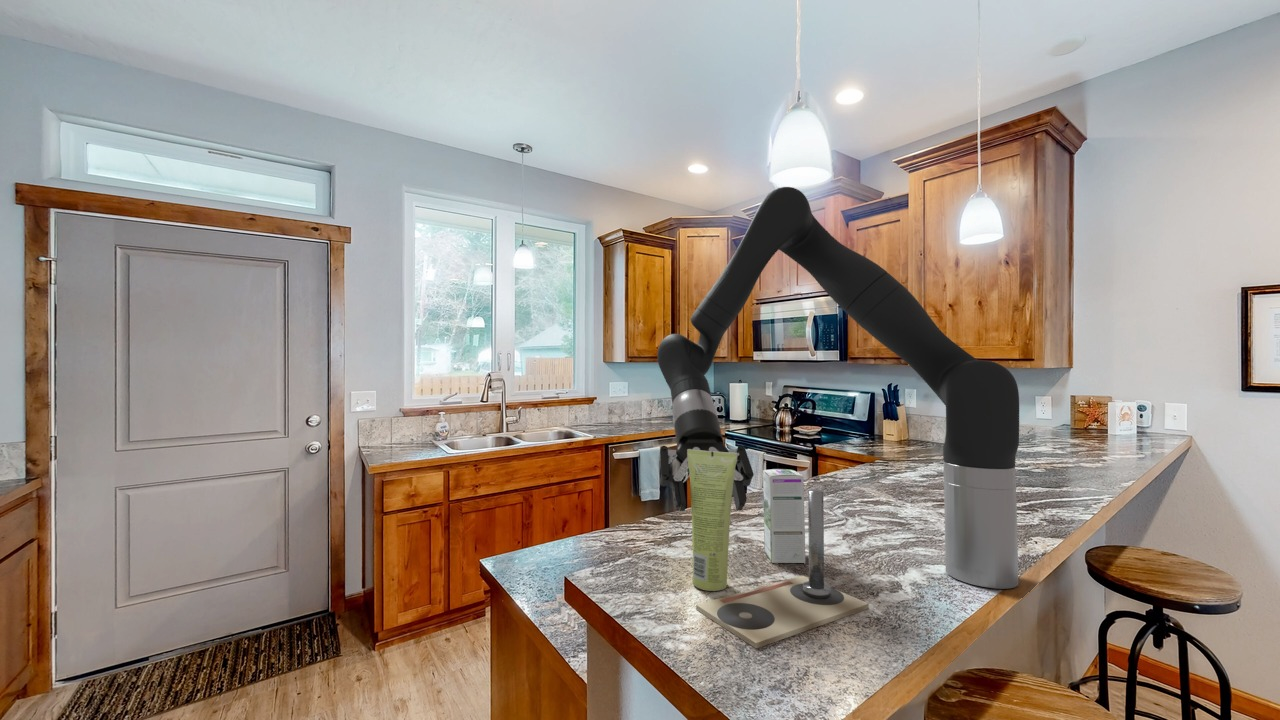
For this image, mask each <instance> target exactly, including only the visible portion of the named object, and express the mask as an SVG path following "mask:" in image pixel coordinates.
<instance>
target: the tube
mask: <svg viewBox="0 0 1280 720" xmlns="http://www.w3.org/2000/svg"><path fill="white" fill-rule="evenodd" d="M687 456H688V464H689V474H690V475H689V487H690V505H691V526H692V527H691V534H692V535H691V537H692V539H691V540H692V584H693V585H694V586H695V587H696V588H698V589H700V590H702V591H707V592H708V591H709V592H718V591H723V590H725V589H726V588H727V586H728V585H727V584H728V565H729V563H728V561H729V546H730V530H731V529H730V527H731V515H732V514H731V511H732V501H733V493H732V491H733V482H734V473H735V470H736V467H737V464H736V461H737V453H728V452H714V451H702V450H691V449H687Z"/></svg>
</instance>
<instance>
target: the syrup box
mask: <svg viewBox="0 0 1280 720" xmlns="http://www.w3.org/2000/svg"><path fill="white" fill-rule="evenodd" d="M762 475H763V478H762V479H763V481H762V482H763V485H762V487H763V488H762V489H763V491H762V493H763V534H764V535H763V540H764V541H763V545H764V547H763V548H764V553H765V554H766V556H767V558H768V559H769V561H770V562H771V564H778V563H804V564H803V565H805V564H806V532H805V531H806V527H805V526H806V524H805V520H806V519H805V496H804V495H805V491H804V490H805V488H804V486H805V485H804V484H805V483H804V475H802V474H801V473H799V472H798V471H796V470H794V469H787V468H772V469H763V472H762Z"/></svg>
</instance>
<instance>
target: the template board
mask: <svg viewBox="0 0 1280 720" xmlns="http://www.w3.org/2000/svg"><path fill="white" fill-rule="evenodd" d="M807 581H809V576H804V575H798V576H796V577H792V578H789V579H785V580H780V581H778V582H774V583H770V584H766V585H764V586H759V587H755V588H752V589H749V590H745V591H741V592H738V593H734V594H731V595H726V596H723V597H719V598H716V599H712V600H708V601H704V602H701V603H697V604H695V609H696V611H698V612H700V613H701V614H703V615H704V616H705V617H707V618H708V619H710V620H712V621H713V622H715V623H716V624H718V625H719V626H721V627H722V628H724V629H726V630H727V631H729V632H730V633H732V634H733V635H734V636H736V637H737V638H739V639H740V640H742V641H744V642H745V643H747V644H749V646H751V647H753V648H754V649H758V648H762V647H764V646H767V645H770V644H773V643H776V642H778V641H779V642H780V641H781V640H783V639H787V638H789V637H792V636H796V635H798V634H801V633H804V632H806V631H810V630H812V629H815V628H817V627H820V626H823V625H826V624H829V623H831V622H834V621H837V620H840V619H843V618H846V617H849V616H851V615H853V614H857V613H859V612H862V611H864V610H865V611H866V610H868V609H869V608H870V606H869V602H866V601H863V600H861V599H859V598H856V597H854V596H852V595H849V594H847V593H845V592H843V591H840V590H837V589H835V588H834V587H832V586H830V588H831V596H830V598H828V599H814V598H810V597H808V596H806V595H805V594H804V593H803V583H804V582H807Z"/></svg>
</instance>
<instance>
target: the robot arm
mask: <svg viewBox="0 0 1280 720" xmlns="http://www.w3.org/2000/svg"><path fill="white" fill-rule="evenodd" d="M778 251H780V252H782V253H783V254H785V255H786V256H788V257H789V258H790V259H792V260H793V261H794V262H795V263H797V264H798V265H799V266H801V267H802V268H803V269H804V270H806V271H807V272H808V273H809V274H810V275H811V276H812V277H813V278H814V279H815V282H817V284H818V285H820V287H821V288H822V290H824V291H825V292H826V294H827V295H828V296H829V297H830V298H831V299H832V300H833V301H834V302H835V303H836V304H837V305H838V306H839V307H840V308H841V310H843V311H844V312H845V314H847V315H848V316H849V318H851V319H852V320H853V321H855V323H857V324H858V326H860V327H861V328H862V329H864V330H865V331H866V332H867V333H869V334H870V336H872V337H873V338H874V339H875V340H877V341H878V342H879V343H880V344H882V345H883V346H884V347H886V348H887V349H888V350H889V351H891V352H892V353H893V354H895V355H896V356H898V357H899V358H901V360H903V361H904V362H905V363H907V365H909V366H910V367H911V368H912V369H913V370H914V371H915V373H916V374H918V376H919V377H920V379H922V380H923V381H924V383H926V384H927V385H928V387H929V388H930V389H931V390H932V391H933V392H934V394H935V395H936V396H937V397H938V398H939V399H940V400H941V402H942V403H943V405H945V438H944V443H943V449H942V452H943V453H942V454H943V455H942V457H943V460H942V461H943V495H944V496H943V497H944V498H943V499H944V500H943V501H944V502H943V503H944V504H943V505H944V549H945V550H944V551H945V552H944V556H945V559H944V560H945V563H944V564H945V572H946V574H947V575H949V576H950V577H951V578H954V579H956V580H959V581H961V582H964V583H966V584H969V585H970V584H971V585H974V586H978V587H984V588H990V589H999V590H1001V589H1002V590H1005V589H1013V588H1016V587H1018V586H1019V550H1018V549H1019V548H1018V514H1017V513H1018V510H1017V480H1016V479H1017V477H1016V474H1017V473H1016V456H1017V452H1018V449H1019V445H1020V443H1019V442H1020V393H1019V386H1018V383H1017V380H1016V378H1015V376H1014V375H1013V374H1012V373H1011V372H1010V370H1008V368H1007V367H1005V366H1004V365H1001V364H1000V363H999V362H998V363H997V362H995V361H991V360H988V359H987V360H985V359H984V360H983V359H977V358H975V357H974V356H973V355H972V354H970V353H968V352H967V351H966V350H965V349H963V348H962V347H960V345H958V344H957V343H955V342H954V341H953V340H952V339H951V338H950V337H948V336H947V335H946V334H945V333H944V332H943V331H942V330H941V329H940V327H938V325H936V323H935V322H934V321H933V319H932V318H931V316H930V315H929V314H928V312H927V311H926V310H925V308H924V307H923V306H922V305H921V303H920V302H919V301H918V300H917V298H916V297H915V296H914V295H913V294H912V293H911V292H910V291H909V290H908V289H907V288H906V287H905V285H902V283H901V282H899V280H898V279H896V278H895V277H894V276H893V275H892V274H890V273H888V271H887V270H886V269H884V268H883V267H881V266H880V265H879V264H877V263H876V262H874V261H873V260H871V259H869V258H867V257H866V256H864V255H862V254H860V253H858V252H857V251H854V250H853V249H851V248H849V247H847V246H845V245H844V244H843V243H841V242H839V241H838V240H837V239H836V238H835V237H834V236H833V235H831V233H829V232H828V230H827V229H826V228H824V226H823V225H822V224H821V223H820V222H819V221H818V220H817V218H816V217H815V216H814V214H813V213H812V210H811V206H810V203H809V200H808V198H807V196H806V195H805V194H804V192H802V191H801V190H800V189H798V188H795V187H793V186H792V187H790V186H783V187H778V188H776V189H773V190H772V191H770V192H769V193H767V195H765V196H764V198H763V199H762V201H761V202H760V204H759V206H758V208H757V210H756V212H755V213H754V215H753V218H752V220H751V222H750V223H749V226H748V228H747V230H746V232H745V233H744V236H743V238H742V239H741V241H740V243H739V245H738V246H737V248H736V249H735V252H733V253H734V254H733V255H732V256H731V258H730V260H729V262H728V263H727V265H726V267H724V269H723V271H722V273H721V274H720V275H719V277H718V278H717V279H716V281H715V283H714V284H713V286H712V287H711V288H710V289H709V291H708V292H707V294H706V295H705V296H704V298H703V299H702V301H700V303H699V305H698V306H697V308H696V309H695V311H694V312H693V314H692V315H691V317H690V323H691V325H692V326H693V327H694V329H696V331H697V332H698V333H699V337H698V342H697V343H696V342H694V341H692V340H691V339H689V338H687V337H686V336H684V335H682V334H679V333H671V334H669V335H666V336H665V337H664V338H663V339H662V340H661V342H660V343H659V345H658V348H657V353H656V354H657V355H656V357H657V358H656V359H657V363H658V366H659V369H660V372H661V374H662V376H663V378H664V380H665V382H666V384H667V386H668V387H669V389H670V395H671V401H672V423H673V427H674V434H675V440H676V446H677V447H676V449H669V448H668V446H666V445H662V446H660V448H659V454H658V473H659V475H658V476H659V478H658V479H659V486H661V487H664V488H665V487H669V488H671V490H672V494H673V495H672V497H673V503H674V507H675V508H678V511H679V512H685V511H686V506H687V499H686V493H685V486H684V483H685V482H687V480H688V478H690V474H689V464H688V456H687V449H691V450H702V451H714V452H728V453H737V461H736V467H737V469H735V473H734V482H733V491H732V499H733V501H734V506H735V510H736V511H742V510H743V508H745V505H746V503H747V498H748V497H747V493H746V489H745V486H746V487H748V486H750V485H751V482H752V479H753V477H754V475H755V474H754V471H753V468H752V465H751V462H750V460H749V456H748V453H747V451H746V448H745V446H743V445H738V446H737V448H734V449H728V448H727V447H726V446H725V444H724V439H723V434H722V431H721V430H722V429H721V426H720V421H719V418H718V413H717V408H716V405H715V404H714V403H715V402H714V400H713V397H712V393H711V388H710V384H709V382H708V379H707V377H706V376H705V375H706V374H708V371H709V369H710V368H711V366H712V364H713V361H714V358H715V357H716V354H717V351H718V348H719V346H720V344H721V341H722V339H723V336H724V334H725V333H726V332H727V330H728V329H729V327H730V326H731V325H732V323H733V322H734V321H735V319H736V318H737V317H738V315H739V313H741V311H742V309H743V308H744V307H745V304H747V301H748V299H749V297H750V295H751V294H752V291H753V289H754V287H755V286H756V283H757V282H758V279H759V277H761V276H760V275H761V274H762V273H763V271H764V269H765V268H766V267H767V265H768V264H769V262H770V260H771V259H772V257H774V256H775V254H776V253H777V252H778ZM674 459H676V461H677V462H678V463H679V464H680V467H679V468H678V470H677V471H676V473H675V474H671V473H670V465H669V464H671V463H673V460H674Z"/></svg>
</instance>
